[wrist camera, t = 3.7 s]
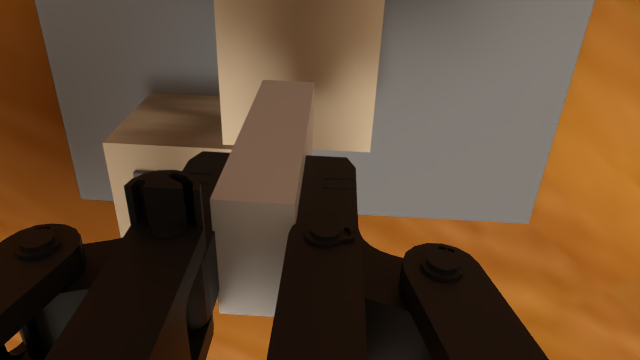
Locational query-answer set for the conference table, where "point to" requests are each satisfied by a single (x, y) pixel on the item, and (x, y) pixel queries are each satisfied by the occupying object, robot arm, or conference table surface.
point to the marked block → (161, 140)
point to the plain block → (302, 62)
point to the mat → (390, 102)
